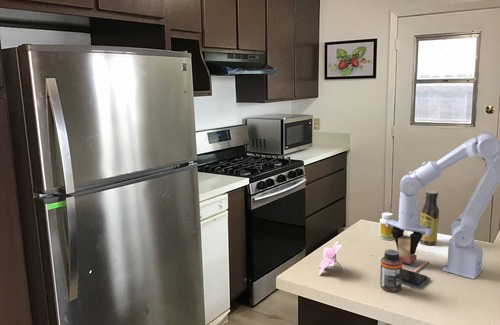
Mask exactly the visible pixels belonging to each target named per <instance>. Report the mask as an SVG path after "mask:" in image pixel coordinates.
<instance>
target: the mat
mask: <svg viewBox="0 0 500 325" xmlns="http://www.w3.org/2000/svg"><path fill="white" fill-rule="evenodd" d="M429 263H430V261H429V260H425V259H422V258H418V257H416V260H415V261H413V262H412V263H411V264H408V263H404V262H402V269H405V270H408V271H412V272H415V273H418V272H419V271H420V270H422V269H423V268H424V267H426V265H428V264H429Z"/></svg>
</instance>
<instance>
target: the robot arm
mask: <svg viewBox="0 0 500 325" xmlns="http://www.w3.org/2000/svg"><path fill="white" fill-rule="evenodd" d="M478 154H479V156H481V157H482V158H483V161H484V162H485V165H486V168H485V170H484V173H483V174H482V176H481V179H480V180H479V181H478V184H477V185H476V187H475V190H474V191H473V193H472V195H471V198H470V199H469V201H468V203H467V205H465V206H466V207H465V208H464V210H463V212H461V213H460V215H459V216H458V217H457V219H456V220H454V221H453V222H452V223H451V225H450V231H451V238H450V239H449V240H448V250H447V251H448V252H447V265H445V266H444V267H442V269H441V270H442V271H443V272H447V273H450V274H454V275H458V276H461V277H464V278H465V277H466V278H469V279H472V280H474V279H476V278H477V276H479V275H480V274H481V273H482V272H483V269H482V268H483V267H482V266H483V257H484V256H483V254H484V253H483V249H482V248H481V247H478V246H476V245H475V235H476V234H475V233H476V231H477V229H478V225H479V221H480V219H481V217H482V216H483V214H484V212H485V210H486V209H487V207H488V205H489V203H490V201H491V199H492V197H493V195H494V193H495V192H496V191H497V188H498V187H499V185H500V140H499V138H497V137H496V136H495V135H494V134H493V133H491V132H483V133H480V134H478V135H477V136H475V137H472V138H470V139H467V141H465V142H463V143H462V144H460V145H459V146H457V147H455V149H453V150H452V151H450V152H449V153H447V154H445V155H444V156H443V157H441V158H440V159H438V160H436V161H433V160H429V161H424V162H423V163H422V164H421V166H420V167H418V168H416V169H415V170H413V171H412V170H410V171H409V172H408V174H405V175H404V176H403V177H402V178H401V180H400V183H399V190H400V192H399V204H398V220H394V219H393V220H394V221H393V220H387V221H386V223H385V226H386V227H393V229H392V230H391V233H392V235H393V237H394V238H393V240H394V241H395V245H396V251H398V238H400V237H401V236H403V235H405V234H404V233H405V231H407V232H412V233H411V234H409V237H410V238H411V254H414V253H415V254H416V253H417V252H416V251H417V249H418V245H419V243H420V242H419V241H420V239H421V238H422V236H423V234H424V235H425V236H429V235H431V229H429V228H426V227H423V226H420V224H418V213H419V212H418V211H419V198H418V196H419V195H418V194H419V190H420V189H421V188H424V187H425V186H427V185H429V184H430V183H432V182H434V181H435V180H437V179H438V178H440V177H442V175H443V174H442V172H443V170H446V169H447V168H449V167H450V166H453V165H455V164H456V163H458V162H460V161H462V160H463V159H465V158H477V157H478ZM415 254H414V255H415Z"/></svg>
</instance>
